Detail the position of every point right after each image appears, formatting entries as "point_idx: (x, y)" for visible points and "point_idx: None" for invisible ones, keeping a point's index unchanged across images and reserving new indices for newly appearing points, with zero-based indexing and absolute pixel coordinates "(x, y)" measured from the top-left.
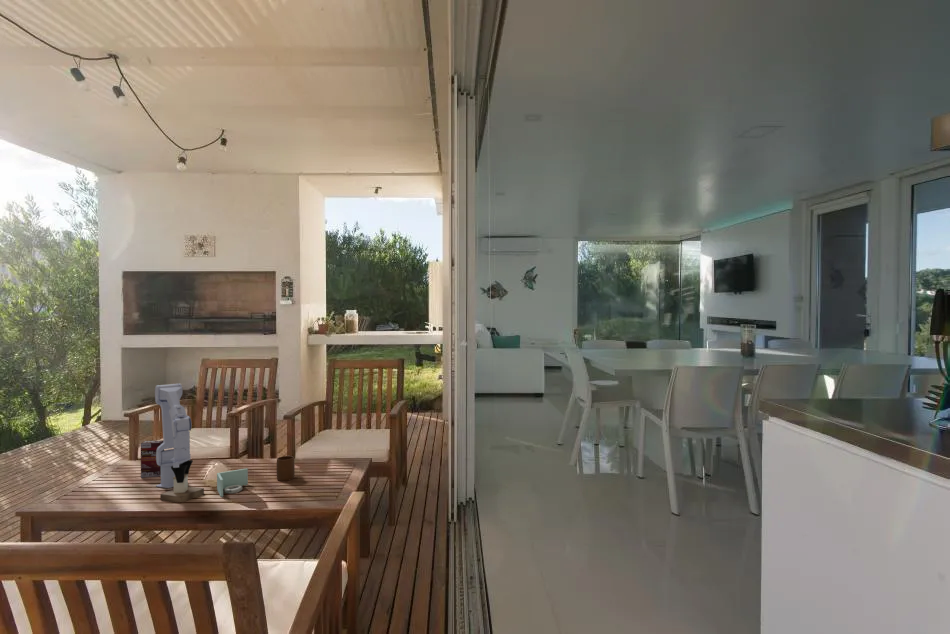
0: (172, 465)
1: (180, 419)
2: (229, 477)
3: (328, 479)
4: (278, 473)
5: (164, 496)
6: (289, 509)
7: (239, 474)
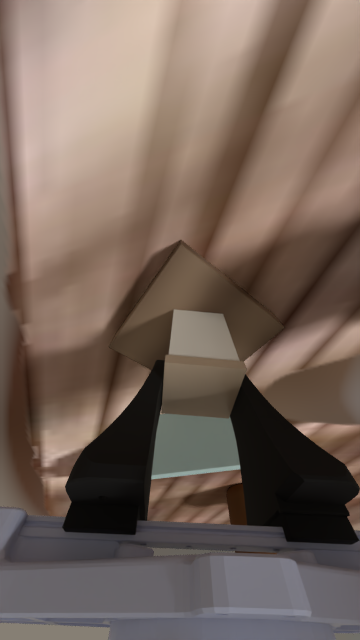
0: (134, 482)
1: None
2: None
3: (201, 519)
4: (238, 507)
5: (163, 268)
6: (45, 493)
7: None
